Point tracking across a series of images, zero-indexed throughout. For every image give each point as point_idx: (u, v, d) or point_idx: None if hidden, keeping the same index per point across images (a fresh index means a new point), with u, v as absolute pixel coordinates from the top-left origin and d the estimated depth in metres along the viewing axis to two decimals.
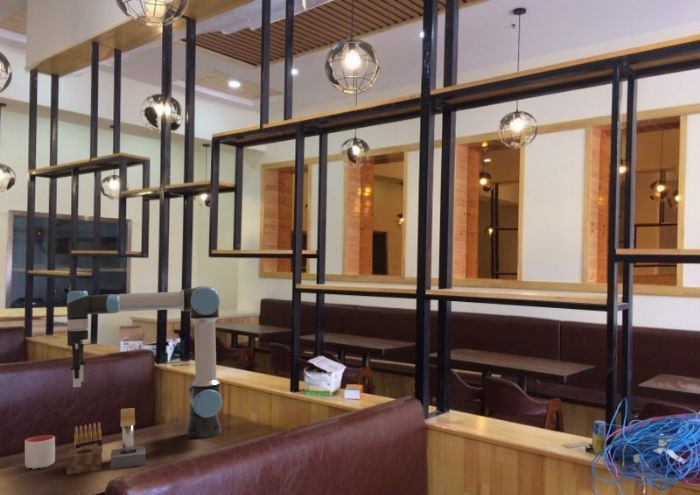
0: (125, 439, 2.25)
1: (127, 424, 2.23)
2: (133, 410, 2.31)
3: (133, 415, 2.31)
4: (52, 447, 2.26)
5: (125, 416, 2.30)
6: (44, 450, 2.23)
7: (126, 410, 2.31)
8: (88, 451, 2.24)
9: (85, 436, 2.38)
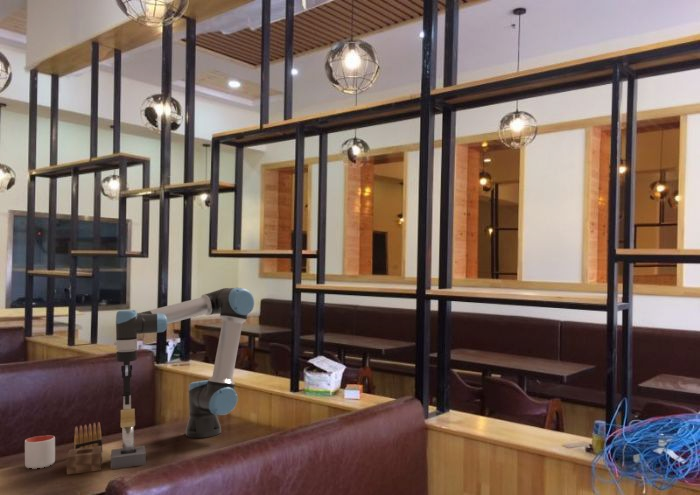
0: (125, 439, 2.25)
1: (127, 425, 2.21)
2: (133, 411, 2.30)
3: (133, 416, 2.30)
4: (52, 447, 2.26)
5: (125, 417, 2.29)
6: (44, 450, 2.23)
7: (126, 411, 2.29)
8: (88, 451, 2.24)
9: (85, 436, 2.38)
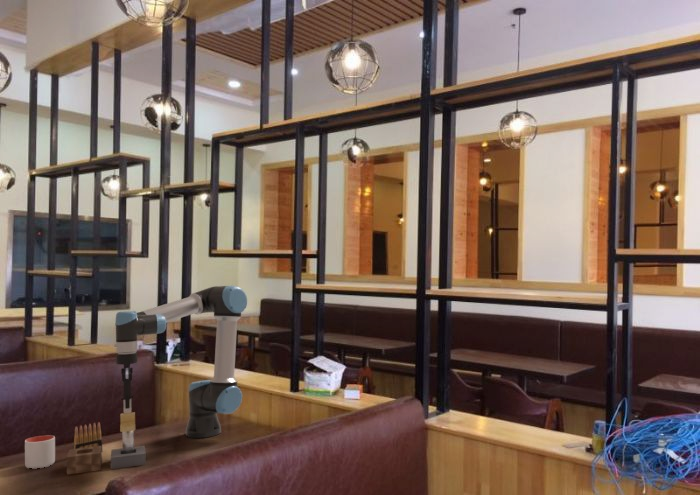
0: (125, 439, 2.25)
1: (127, 429, 2.14)
2: (133, 414, 2.23)
3: (133, 420, 2.23)
4: (52, 447, 2.26)
5: (125, 421, 2.22)
6: (44, 450, 2.23)
7: (126, 414, 2.23)
8: (88, 451, 2.24)
9: (85, 436, 2.38)
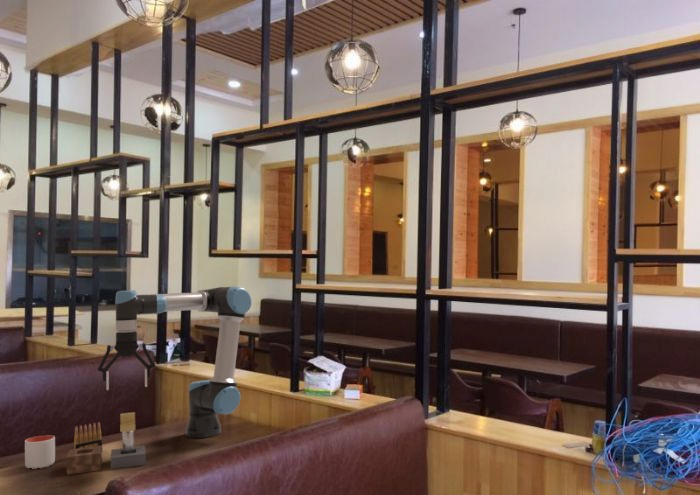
0: (125, 439, 2.25)
1: (127, 429, 2.14)
2: (133, 414, 2.23)
3: (133, 420, 2.23)
4: (52, 447, 2.26)
5: (125, 421, 2.22)
6: (44, 450, 2.23)
7: (126, 415, 2.22)
8: (88, 451, 2.24)
9: (85, 436, 2.38)
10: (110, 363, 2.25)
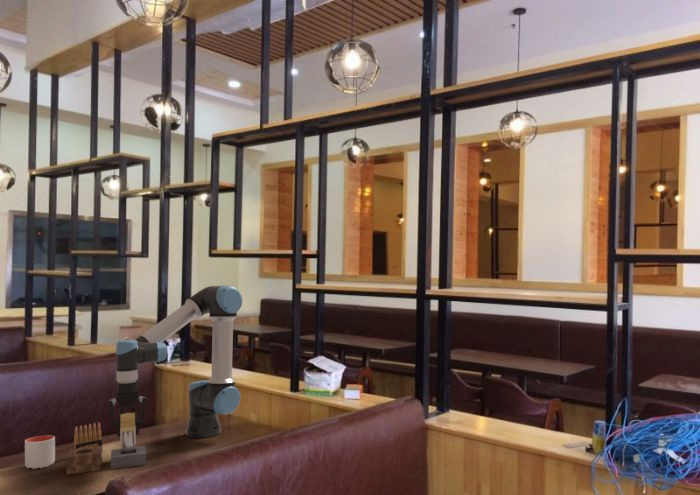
0: (125, 439, 2.25)
1: (127, 429, 2.14)
2: (133, 414, 2.23)
3: (133, 420, 2.23)
4: (52, 447, 2.26)
5: (125, 421, 2.22)
6: (44, 450, 2.23)
7: (126, 415, 2.22)
8: (88, 451, 2.24)
9: (85, 436, 2.38)
10: None
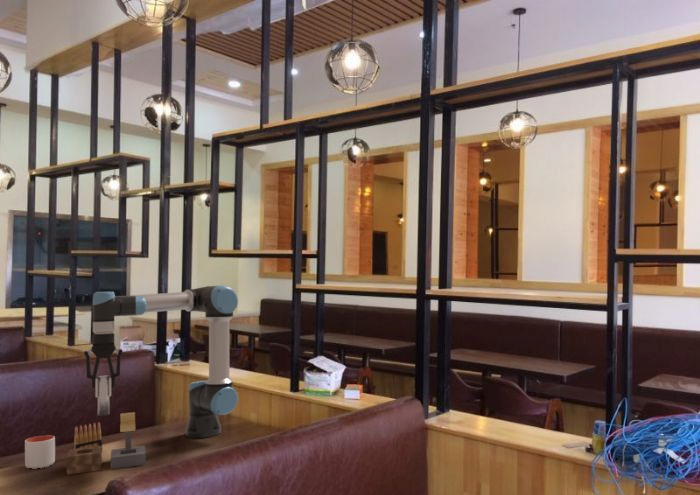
0: (100, 391, 2.23)
1: (127, 429, 2.14)
2: (133, 414, 2.23)
3: (133, 420, 2.23)
4: (52, 447, 2.26)
5: (125, 421, 2.22)
6: (44, 450, 2.23)
7: (126, 415, 2.22)
8: (88, 451, 2.24)
9: (85, 436, 2.38)
10: (95, 368, 2.23)
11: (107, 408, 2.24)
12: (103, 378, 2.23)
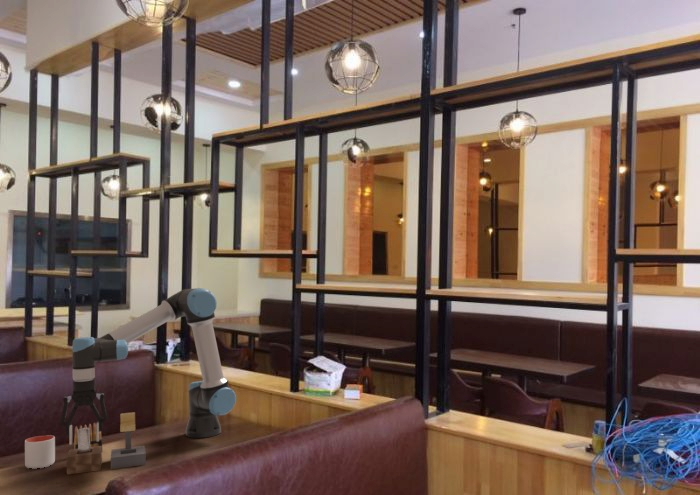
0: (80, 444, 2.20)
1: (127, 429, 2.14)
2: (133, 414, 2.23)
3: (133, 420, 2.23)
4: (52, 447, 2.26)
5: (125, 421, 2.22)
6: (44, 450, 2.23)
7: (126, 415, 2.22)
8: None
9: None
10: (71, 415, 2.20)
11: None
12: (83, 432, 2.20)
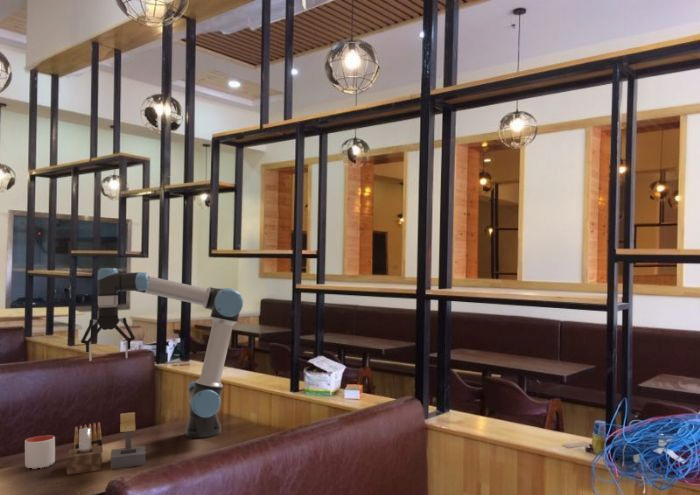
0: (81, 444, 2.20)
1: (127, 429, 2.14)
2: (133, 414, 2.23)
3: (133, 420, 2.23)
4: (52, 447, 2.26)
5: (125, 421, 2.22)
6: (44, 450, 2.23)
7: (126, 415, 2.22)
8: None
9: None
10: (92, 336, 2.41)
11: None
12: (84, 431, 2.20)
